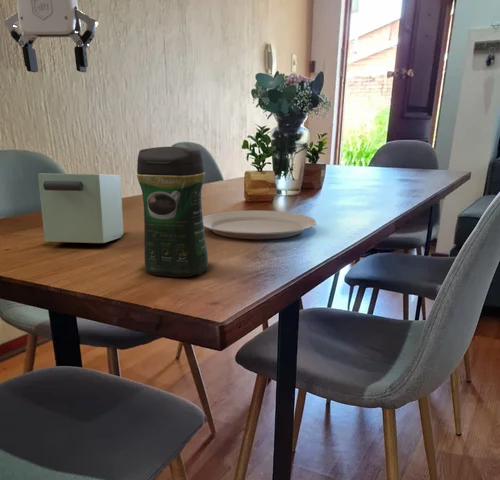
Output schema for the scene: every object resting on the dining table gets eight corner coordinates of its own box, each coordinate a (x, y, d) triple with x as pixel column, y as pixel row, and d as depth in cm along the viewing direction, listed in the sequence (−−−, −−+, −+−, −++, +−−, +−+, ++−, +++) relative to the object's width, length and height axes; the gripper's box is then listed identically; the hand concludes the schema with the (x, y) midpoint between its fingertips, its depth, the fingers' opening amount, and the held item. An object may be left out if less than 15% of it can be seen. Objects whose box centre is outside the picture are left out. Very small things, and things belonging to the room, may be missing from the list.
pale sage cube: (97, 245, 90) (91, 174, 86) (36, 243, 91) (28, 173, 87) (123, 236, 103) (120, 175, 100) (70, 235, 104) (65, 174, 101)
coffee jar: (214, 267, 83) (211, 146, 75) (195, 281, 76) (190, 148, 68) (160, 262, 85) (152, 144, 78) (137, 275, 78) (126, 147, 71)
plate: (327, 242, 100) (327, 232, 99) (196, 243, 98) (196, 233, 97) (305, 218, 123) (305, 210, 123) (199, 219, 122) (199, 210, 121)
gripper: (-16, -42, 87) (3, 70, 94) (82, -44, 86) (93, 70, 92) (7, -31, 94) (23, 73, 101) (98, -32, 93) (108, 73, 99)
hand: (57, 71), depth 97 cm, fingers open, 9 cm apart
